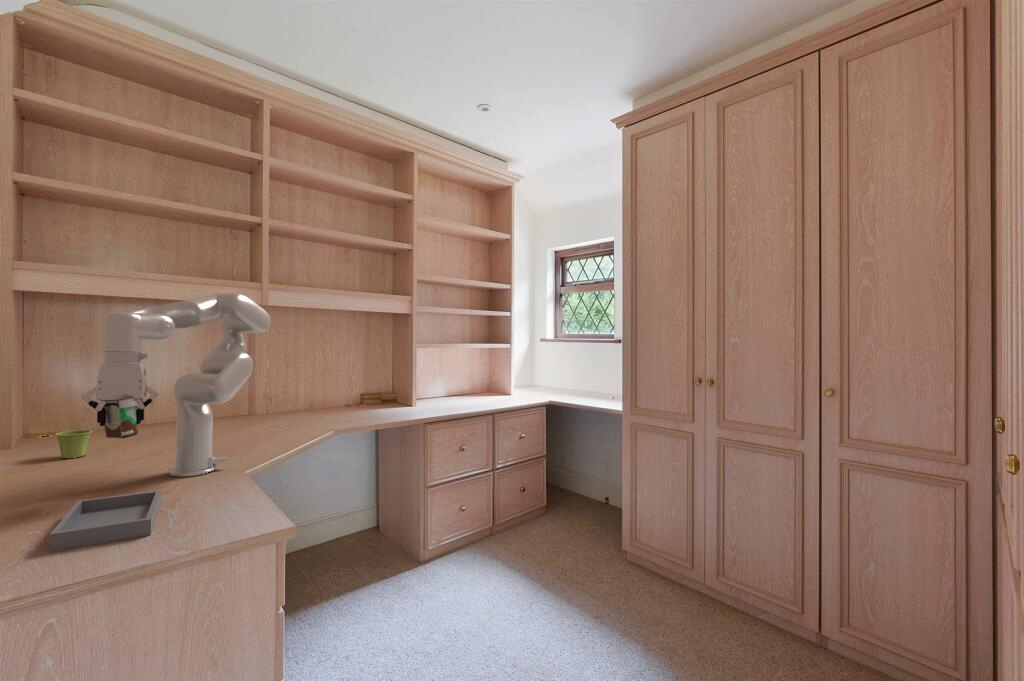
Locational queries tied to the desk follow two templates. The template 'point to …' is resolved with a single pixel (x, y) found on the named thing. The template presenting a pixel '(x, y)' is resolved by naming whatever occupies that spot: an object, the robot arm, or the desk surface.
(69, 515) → the parts tray
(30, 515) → the desk surface
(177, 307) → the robot arm
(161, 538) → the desk surface
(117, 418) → the food container
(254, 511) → the desk surface
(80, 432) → the plant pot
